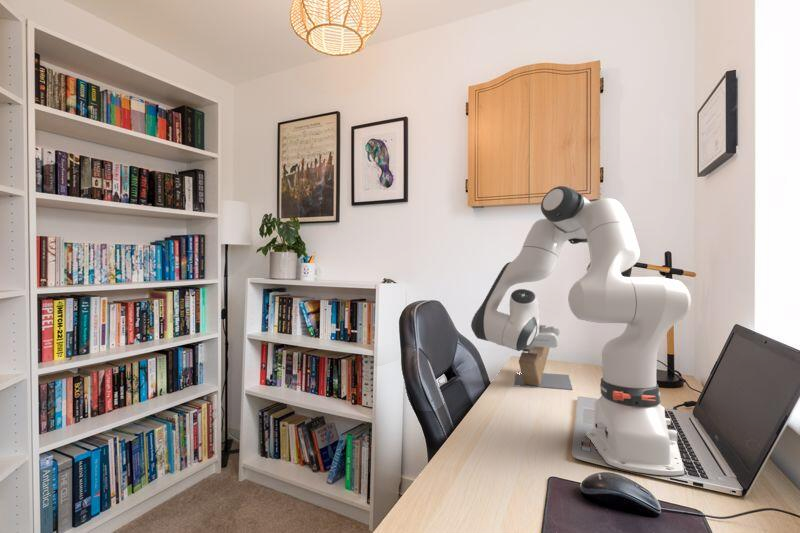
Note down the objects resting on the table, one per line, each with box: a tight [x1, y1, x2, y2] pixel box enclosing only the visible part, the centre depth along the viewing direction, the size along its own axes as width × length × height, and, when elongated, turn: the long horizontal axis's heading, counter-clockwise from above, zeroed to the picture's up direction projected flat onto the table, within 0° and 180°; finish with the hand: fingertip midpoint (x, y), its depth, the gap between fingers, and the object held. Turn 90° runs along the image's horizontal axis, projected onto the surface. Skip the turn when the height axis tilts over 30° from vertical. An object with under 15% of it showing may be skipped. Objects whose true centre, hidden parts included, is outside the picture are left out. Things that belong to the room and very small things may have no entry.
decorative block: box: [518, 324, 551, 386], centre depth 141 cm, size 11×6×20 cm
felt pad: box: [513, 371, 573, 391], centre depth 143 cm, size 18×19×1 cm
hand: (526, 350), depth 137 cm, fingers closed
